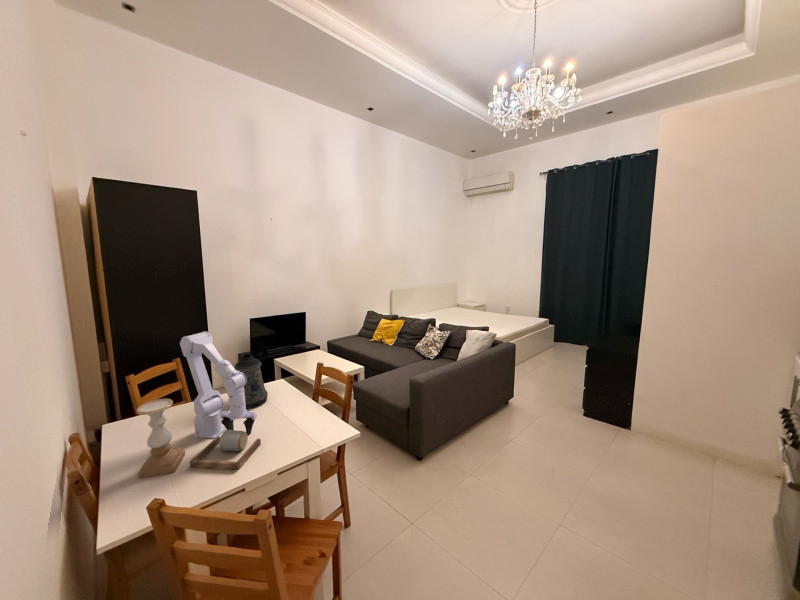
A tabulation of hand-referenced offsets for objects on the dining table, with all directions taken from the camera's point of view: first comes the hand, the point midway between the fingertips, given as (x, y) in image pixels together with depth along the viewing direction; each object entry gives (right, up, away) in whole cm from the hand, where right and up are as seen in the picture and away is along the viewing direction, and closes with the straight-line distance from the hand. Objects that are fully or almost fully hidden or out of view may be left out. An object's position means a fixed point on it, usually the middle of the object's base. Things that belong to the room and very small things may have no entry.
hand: (240, 434), depth 127 cm
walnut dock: (-1, -5, -7) cm, 9 cm away
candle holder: (-21, -6, -13) cm, 26 cm away
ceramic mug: (0, -4, -3) cm, 5 cm away
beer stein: (-13, +2, +34) cm, 37 cm away
